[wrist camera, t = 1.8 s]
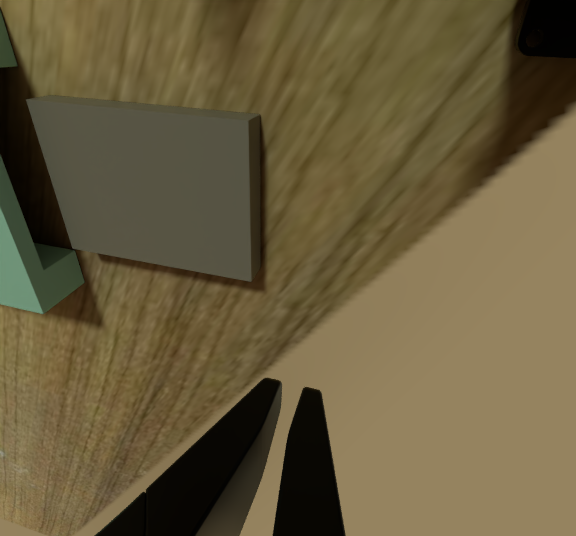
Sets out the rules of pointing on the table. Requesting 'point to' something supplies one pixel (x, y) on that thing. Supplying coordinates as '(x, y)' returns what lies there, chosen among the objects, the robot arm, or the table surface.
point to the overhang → (29, 244)
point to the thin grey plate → (155, 181)
